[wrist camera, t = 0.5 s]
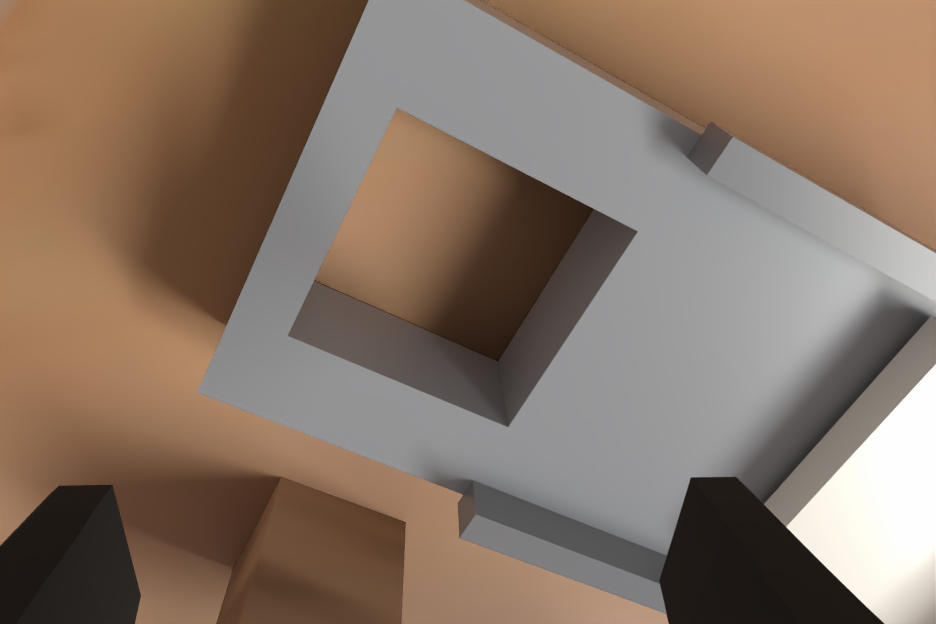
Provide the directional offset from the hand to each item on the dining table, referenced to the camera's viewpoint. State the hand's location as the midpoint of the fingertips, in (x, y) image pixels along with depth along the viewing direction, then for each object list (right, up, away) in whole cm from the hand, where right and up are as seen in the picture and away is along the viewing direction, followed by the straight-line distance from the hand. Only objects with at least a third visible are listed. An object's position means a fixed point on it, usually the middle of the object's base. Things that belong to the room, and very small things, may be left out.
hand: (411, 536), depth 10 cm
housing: (+4, +3, +10) cm, 11 cm away
